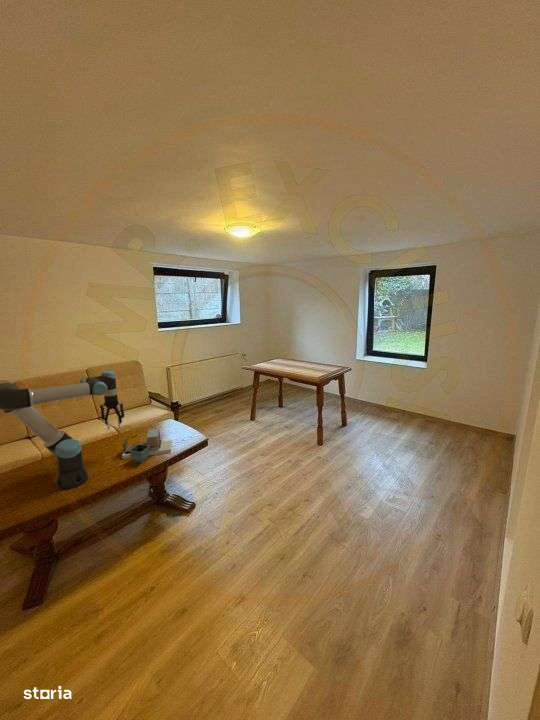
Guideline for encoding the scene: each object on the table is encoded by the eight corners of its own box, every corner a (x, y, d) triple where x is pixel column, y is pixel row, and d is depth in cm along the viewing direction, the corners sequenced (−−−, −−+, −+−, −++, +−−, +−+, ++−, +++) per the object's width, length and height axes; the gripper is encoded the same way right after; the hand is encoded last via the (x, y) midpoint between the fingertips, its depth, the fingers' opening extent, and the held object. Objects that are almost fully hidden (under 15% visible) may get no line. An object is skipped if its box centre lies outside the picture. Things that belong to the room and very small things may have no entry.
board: (122, 458, 190) (122, 455, 190) (126, 448, 204) (126, 445, 203) (170, 452, 198) (170, 449, 198) (171, 443, 212) (171, 439, 211)
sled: (123, 452, 193) (122, 444, 192) (126, 447, 200) (125, 438, 199) (160, 448, 199) (159, 439, 198) (161, 442, 206) (160, 434, 205)
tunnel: (147, 451, 195) (146, 437, 193) (150, 443, 207) (148, 429, 205) (158, 450, 197) (157, 436, 195) (160, 441, 208) (159, 428, 206)
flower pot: (142, 465, 183) (141, 452, 181) (130, 463, 185) (128, 450, 183) (151, 458, 192) (149, 445, 190) (139, 456, 193) (137, 444, 192)
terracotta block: (148, 447, 198) (148, 439, 196) (150, 443, 203) (149, 435, 202) (158, 446, 199) (157, 437, 198) (159, 442, 205) (158, 434, 204)
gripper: (92, 397, 182) (96, 432, 186) (125, 395, 187) (128, 429, 191) (96, 394, 189) (100, 427, 193) (127, 391, 194) (130, 424, 198)
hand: (114, 428), depth 192 cm, fingers open, 6 cm apart
